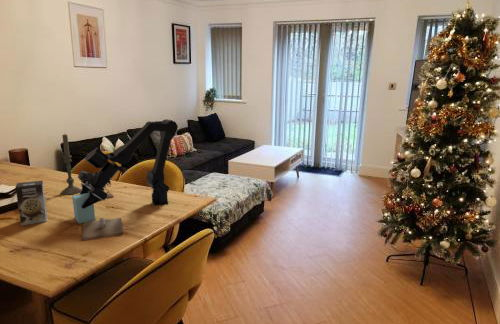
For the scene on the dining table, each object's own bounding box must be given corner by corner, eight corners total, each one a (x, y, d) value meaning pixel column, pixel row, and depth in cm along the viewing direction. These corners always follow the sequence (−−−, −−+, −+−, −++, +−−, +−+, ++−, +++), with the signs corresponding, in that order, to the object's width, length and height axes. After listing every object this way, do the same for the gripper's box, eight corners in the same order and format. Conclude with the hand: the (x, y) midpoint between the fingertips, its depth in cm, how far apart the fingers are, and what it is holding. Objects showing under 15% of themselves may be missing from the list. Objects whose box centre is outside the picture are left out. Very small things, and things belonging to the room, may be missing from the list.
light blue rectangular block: (91, 214, 150) (88, 192, 147) (95, 219, 145) (92, 197, 142) (74, 218, 146) (72, 195, 143) (78, 223, 141) (75, 200, 139)
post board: (121, 220, 145) (120, 209, 144) (123, 234, 133) (122, 222, 131) (84, 224, 140) (83, 213, 139) (82, 240, 128) (80, 228, 126)
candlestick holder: (68, 196, 171) (60, 135, 164) (57, 192, 176) (50, 133, 169) (85, 191, 179) (79, 133, 171) (74, 187, 184) (68, 131, 176)
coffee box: (20, 226, 138) (14, 187, 134) (22, 220, 144) (16, 182, 140) (47, 221, 142) (41, 184, 138) (47, 216, 148) (42, 179, 144)
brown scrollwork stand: (112, 194, 174) (110, 171, 171) (113, 197, 171) (111, 173, 168) (93, 197, 170) (90, 174, 167) (93, 200, 167) (91, 176, 164)
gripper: (83, 158, 149) (58, 188, 145) (96, 168, 135) (67, 201, 131) (104, 173, 156) (80, 202, 152) (118, 184, 142) (92, 216, 138)
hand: (79, 204), depth 143 cm, fingers open, 8 cm apart
